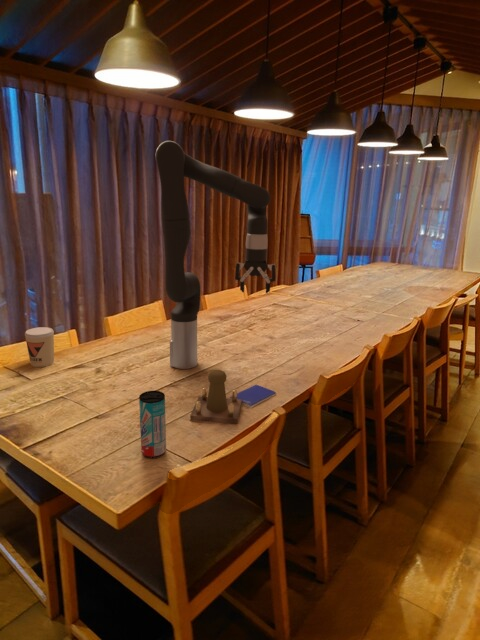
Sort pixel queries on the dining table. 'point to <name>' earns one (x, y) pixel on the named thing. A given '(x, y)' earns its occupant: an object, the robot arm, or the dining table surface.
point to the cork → (217, 391)
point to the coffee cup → (40, 346)
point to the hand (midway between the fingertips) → (254, 292)
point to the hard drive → (254, 395)
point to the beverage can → (152, 424)
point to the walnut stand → (220, 417)
